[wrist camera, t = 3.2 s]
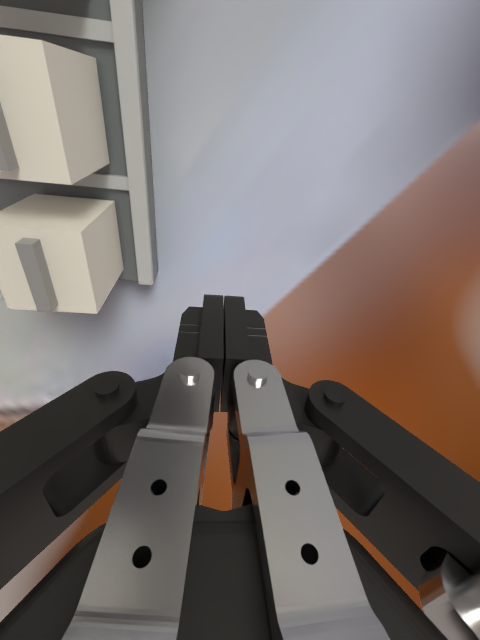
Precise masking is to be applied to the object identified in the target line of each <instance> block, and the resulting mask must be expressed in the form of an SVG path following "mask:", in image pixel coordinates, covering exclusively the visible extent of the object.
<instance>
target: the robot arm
mask: <svg viewBox="0 0 480 640" xmlns="http://www.w3.org/2000/svg"><path fill="white" fill-rule="evenodd" d="M220 391H221V412H228V423H227V431H226V433H227V434H226V436H227V446H228V456H229V466H230V477H231V487H232V510H229V511H219V510H216V509H212V508H209V507H205V506H202V505H201V502H202V493H203V484H204V477H205V469H206V460H207V452H208V444H209V436H210V430H211V428H212V424H213V414H214V412H218V411H219V400H220ZM342 447H343V448H344V449H345V450H344V449H343V448H342ZM349 453H350V454H351V455H352V456H351V455H350V454H349ZM357 460H358V461H359V462H358V461H357ZM364 466H365V467H366V468H367V469H366V468H365V467H364ZM371 472H372V473H373V474H374V475H373V474H372V473H371ZM121 478H122V480H121V483H120V486H119V489H118V491H117V494H116V497H115V500H114V503H113V506H112V509H111V511H110V514H109V517H108V520H107V523H105V524H103V525H102V526H100V527H98V528H97V529H95V530H94V531H92V532H91V533H90V534H88V535H87V536H86V537H85V538H83V539H82V540H81V541H80V542H79V543H77V544H76V545H75V546H74V547H73V548H72V549H71V550H70V551H69V552H68V553H67V554H66V555H65V556H64V557H63V558H62V559H61V560H60V561H59V563H57V564H56V565H55V566H54V568H53V569H52V570H51V571H50V572H49V573H48V574H47V575H46V576H45V577H44V578H43V579H42V580H41V581H40V582H39V583H38V584H37V585H36V586H35V587H34V588H33V589H32V590H31V591H30V592H29V593H28V594H27V595H26V596H25V597H24V598H23V600H22V601H21V602H20V603H19V604H18V605H17V606H16V607H15V608H14V609H13V610H12V611H11V612H10V613H9V614H8V615H7V616H6V617H5V618H4V619H3V620H2V621H1V622H0V640H480V482H478V481H477V480H476V479H474V478H473V477H471V476H470V475H469V474H467V473H466V472H464V471H463V470H462V469H460V468H459V467H457V466H456V465H455V464H453V463H452V462H450V461H449V460H448V459H446V458H445V457H444V456H442V455H441V454H439V453H438V452H437V451H435V450H434V449H433V448H431V447H430V446H428V445H427V444H426V443H424V442H423V441H421V440H420V439H419V438H417V437H416V436H414V435H413V434H411V433H410V432H409V431H407V430H406V429H405V428H403V427H402V426H400V425H399V424H398V423H396V422H395V421H394V420H392V419H391V418H389V417H388V416H386V415H385V414H384V413H382V412H381V411H380V410H378V409H377V408H375V407H374V406H373V405H371V404H370V403H368V402H367V401H366V400H364V399H363V398H362V397H360V396H359V395H357V394H356V393H355V392H353V391H352V390H350V389H349V388H348V387H346V386H345V385H342V384H341V383H338V382H335V381H330V380H322V381H318V382H316V383H314V384H313V385H312V386H311V388H310V389H308V388H305V387H301V386H298V385H295V384H292V383H290V382H288V381H286V380H284V379H283V378H281V375H280V373H279V371H278V370H277V369H276V368H275V367H274V366H273V365H272V360H271V354H270V349H269V344H268V339H267V333H266V330H265V323H264V319H263V317H262V316H261V315H260V314H259V313H258V312H257V311H255V310H245V303H244V297H238V296H225V297H224V308H223V296H221V295H205V294H204V301H203V307H188V308H187V309H186V311H185V312H184V313H183V314H182V317H181V322H180V327H179V333H178V338H177V343H176V348H175V353H174V359H173V362H172V363H171V364H170V365H169V366H168V367H167V368H166V371H165V373H163V374H162V375H160V376H158V377H155V378H152V379H148V380H144V381H139V382H134V380H133V378H132V377H131V376H129V375H128V374H126V373H123V372H118V371H109V372H103V373H100V374H97V375H95V376H93V377H91V378H89V379H88V380H86V381H84V382H83V383H81V384H79V385H78V386H76V387H74V388H73V389H71V390H69V391H68V392H66V393H64V394H63V395H61V396H59V397H58V398H56V399H54V400H53V401H51V402H49V403H48V404H46V405H44V406H43V407H41V408H39V409H38V410H36V411H34V412H33V413H31V414H29V415H27V416H26V417H24V418H22V419H21V420H19V421H17V422H16V423H14V424H12V425H11V426H9V427H7V428H6V429H4V430H2V431H1V432H0V589H1V588H2V587H3V586H4V585H6V584H7V583H8V582H9V581H10V580H11V579H12V578H13V577H14V576H15V575H16V574H18V573H19V572H20V571H21V570H22V569H23V568H24V567H25V566H26V565H27V564H28V563H30V562H31V561H32V560H33V559H34V558H35V557H36V556H37V555H38V554H39V553H40V552H42V550H44V549H45V548H46V547H47V546H48V545H49V544H50V543H51V542H52V541H54V540H55V539H56V538H57V537H58V536H59V535H60V534H61V533H62V532H63V531H64V530H65V529H66V528H68V527H69V526H70V525H71V524H72V523H73V522H74V521H75V520H76V519H77V518H78V517H80V516H81V515H82V514H83V513H84V512H85V511H86V510H87V509H88V508H89V507H90V506H92V505H93V504H94V503H95V502H96V501H97V500H98V499H99V498H100V497H101V496H102V495H103V494H105V493H106V492H107V491H108V490H109V489H110V488H111V487H112V486H113V485H114V484H115V483H117V482H118V481H119V480H120V479H121ZM335 507H336V508H337V509H338V510H339V511H340V512H341V513H342V514H343V515H344V516H345V517H346V518H347V519H348V520H349V521H350V522H351V523H352V524H353V525H354V526H355V527H356V528H357V529H358V530H359V531H360V532H361V533H362V534H363V535H364V536H365V537H366V538H367V539H368V540H369V541H370V542H371V543H372V544H373V545H374V546H375V547H376V548H377V549H378V550H379V551H380V552H381V553H382V554H383V555H384V556H385V557H386V558H387V560H388V561H389V562H391V564H392V565H393V566H394V567H395V568H396V569H397V570H398V571H399V572H400V573H401V574H402V575H403V576H404V577H405V578H406V579H407V580H408V581H409V582H410V583H411V584H412V585H413V586H414V587H415V588H416V589H417V590H418V591H419V596H420V602H421V605H422V608H423V611H422V610H421V609H420V608H419V607H418V606H417V605H416V604H415V603H414V602H413V601H412V599H410V597H409V596H408V595H407V594H406V593H405V592H404V591H403V590H402V588H401V587H400V586H399V585H398V584H397V583H396V582H395V581H394V580H393V579H392V578H391V577H390V575H389V574H388V573H387V572H386V571H385V570H384V569H383V568H382V567H381V566H380V565H379V563H378V562H377V561H376V560H375V559H374V558H373V557H372V556H371V555H370V554H369V552H368V551H367V550H366V549H365V548H364V547H363V546H362V545H361V544H360V543H359V542H358V541H357V540H356V539H355V538H354V537H353V536H352V535H350V534H349V533H348V532H347V531H346V530H344V529H343V528H342V525H341V522H340V520H339V517H338V514H337V511H336V508H335Z"/></svg>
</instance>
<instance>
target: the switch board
mask: <svg viewBox="0 0 480 640" xmlns="http://www.w3.org/2000/svg"><path fill="white" fill-rule="evenodd" d="M0 35H7V36H15V37H22V38H30V39H37V40H43V41H46V42H49V43H52V44H55V45H58V46H61V47H64V48H67V49H70V50H73V51H76V52H79V53H82V54H85V55H88V56H91V57H94V58H96V63H97V71H98V79H99V86H100V94H101V101H102V109H103V117H104V124H105V132H106V140H107V147H108V155H109V162H110V163H109V164H108V165H106V166H104V167H102V168H101V169H99V170H97V171H95V172H93V173H92V174H90V175H88V176H86V177H84V178H83V179H81V180H79V181H77V182H76V183H74V184H72V185H67V184H56V183H45V182H34V181H23V180H13V179H2V178H0V211H1V210H3V209H5V208H7V207H9V206H11V205H13V204H15V203H17V202H19V201H21V200H23V199H25V198H27V197H29V196H31V195H33V194H44V195H55V196H66V197H77V198H89V199H100V200H111V201H115V208H116V216H117V223H118V231H119V239H120V246H121V254H122V262H123V271H122V273H121V275H120V276H119V278H118V279H119V280H134V281H138V282H139V284H144V285H153V283H154V280H155V277H156V275H157V272H158V260H157V244H156V227H155V210H154V193H153V176H152V159H151V143H150V126H149V109H148V92H147V75H146V59H145V42H144V25H143V8H142V0H0Z"/></svg>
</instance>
